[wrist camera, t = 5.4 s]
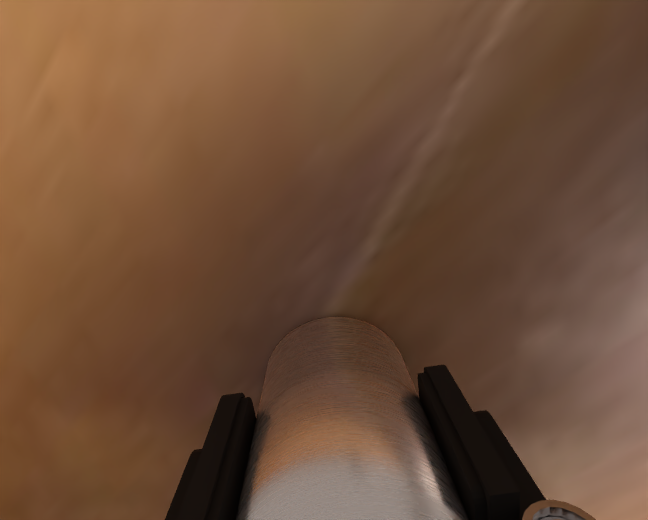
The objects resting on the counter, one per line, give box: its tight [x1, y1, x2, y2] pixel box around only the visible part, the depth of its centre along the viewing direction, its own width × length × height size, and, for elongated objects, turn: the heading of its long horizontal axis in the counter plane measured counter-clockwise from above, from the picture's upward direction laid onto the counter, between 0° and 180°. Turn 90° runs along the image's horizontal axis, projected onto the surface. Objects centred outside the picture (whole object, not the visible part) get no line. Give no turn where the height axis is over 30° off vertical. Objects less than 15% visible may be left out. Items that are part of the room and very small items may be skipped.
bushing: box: [236, 317, 469, 520], centre depth 9 cm, size 5×5×8 cm
